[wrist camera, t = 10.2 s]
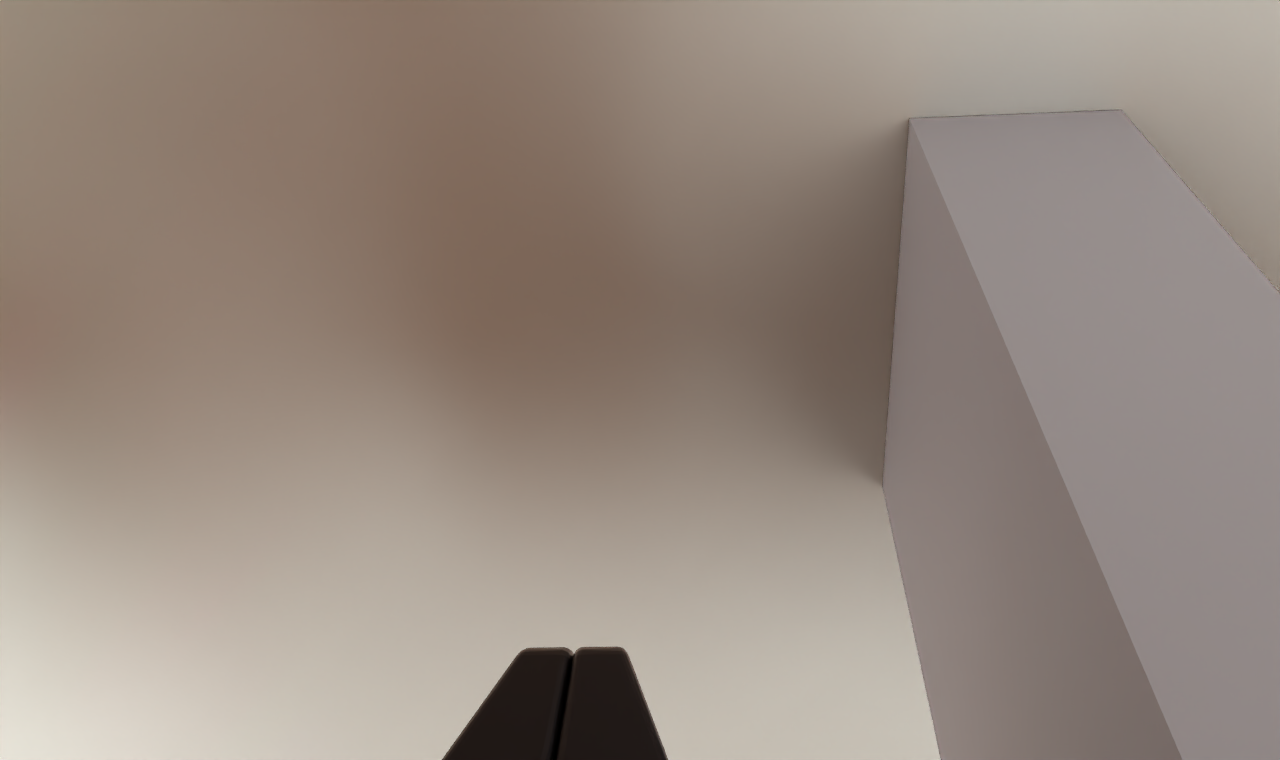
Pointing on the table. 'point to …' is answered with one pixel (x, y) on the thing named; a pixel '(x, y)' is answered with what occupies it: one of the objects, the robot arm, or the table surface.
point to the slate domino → (1082, 449)
